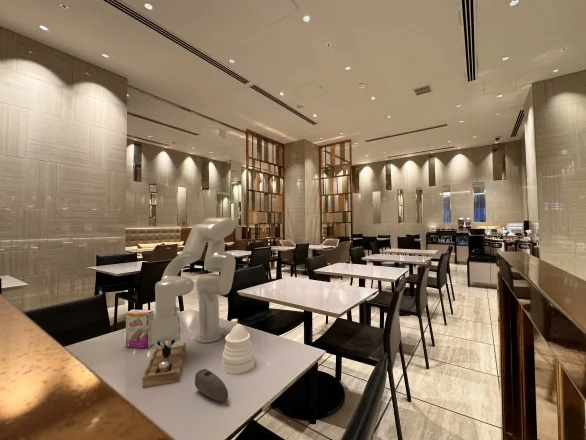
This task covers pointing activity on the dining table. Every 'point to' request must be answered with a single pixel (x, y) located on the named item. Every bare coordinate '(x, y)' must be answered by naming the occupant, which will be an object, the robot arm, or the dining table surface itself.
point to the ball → (163, 366)
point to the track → (175, 367)
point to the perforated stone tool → (211, 385)
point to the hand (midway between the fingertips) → (166, 356)
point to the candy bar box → (139, 328)
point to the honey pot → (238, 350)
